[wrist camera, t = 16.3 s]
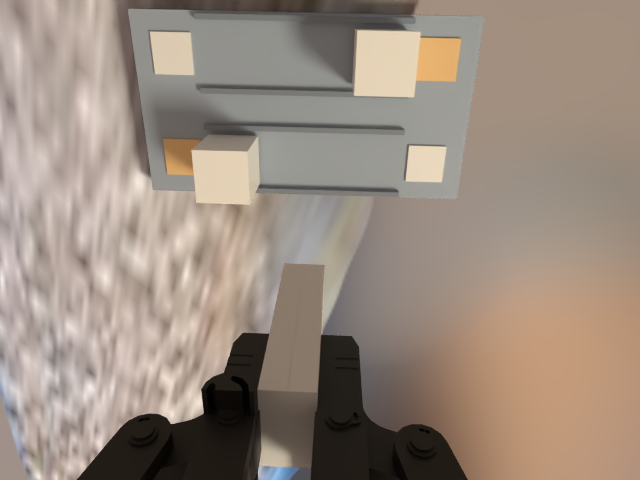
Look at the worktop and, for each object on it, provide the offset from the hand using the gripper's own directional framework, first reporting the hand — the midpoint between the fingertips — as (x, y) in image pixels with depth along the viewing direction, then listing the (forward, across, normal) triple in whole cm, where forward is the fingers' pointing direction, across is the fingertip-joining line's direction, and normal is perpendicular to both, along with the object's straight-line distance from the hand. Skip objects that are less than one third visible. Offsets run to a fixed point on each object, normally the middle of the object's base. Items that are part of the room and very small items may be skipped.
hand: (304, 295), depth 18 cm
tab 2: (+23, +4, +7) cm, 24 cm away
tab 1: (+23, -7, -1) cm, 24 cm away
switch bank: (+25, -2, +3) cm, 25 cm away
